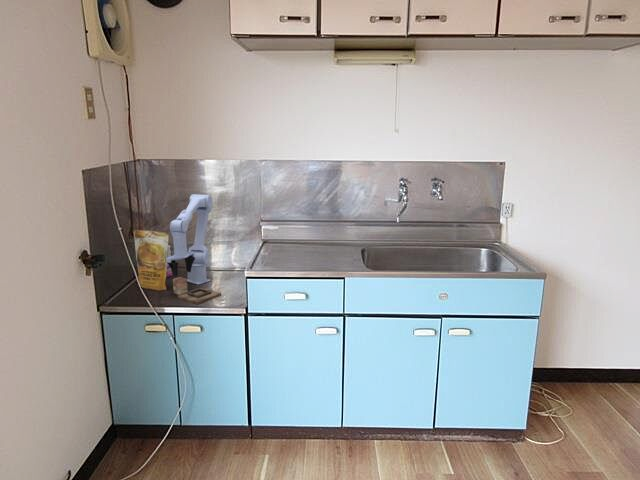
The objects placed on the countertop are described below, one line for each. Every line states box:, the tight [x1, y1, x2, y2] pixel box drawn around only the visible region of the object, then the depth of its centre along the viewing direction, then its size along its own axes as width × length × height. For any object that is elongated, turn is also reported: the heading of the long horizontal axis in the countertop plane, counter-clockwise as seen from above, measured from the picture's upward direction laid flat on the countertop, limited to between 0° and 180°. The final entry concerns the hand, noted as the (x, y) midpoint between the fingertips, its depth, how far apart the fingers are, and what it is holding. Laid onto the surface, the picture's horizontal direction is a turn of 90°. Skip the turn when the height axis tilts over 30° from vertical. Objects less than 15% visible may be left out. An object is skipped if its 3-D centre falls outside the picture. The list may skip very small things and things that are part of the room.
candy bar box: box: [166, 245, 174, 279], centre depth 243 cm, size 11×5×16 cm, turn 148°
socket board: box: [176, 286, 222, 305], centre depth 219 cm, size 14×14×2 cm
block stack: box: [172, 276, 189, 296], centre depth 223 cm, size 4×4×7 cm
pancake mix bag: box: [132, 229, 170, 291], centre depth 228 cm, size 7×19×28 cm, turn 69°
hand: (182, 273), depth 222 cm, fingers open, 7 cm apart
